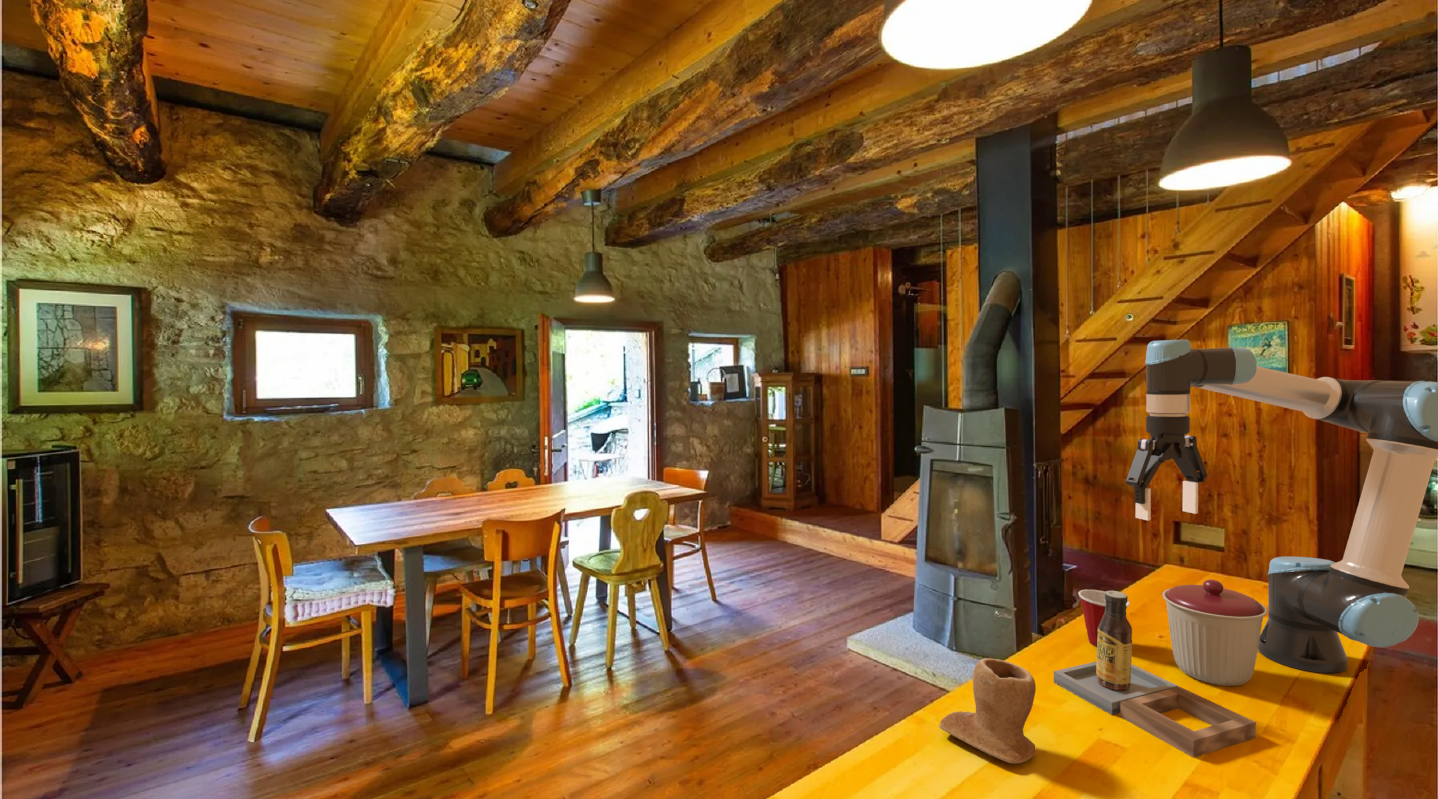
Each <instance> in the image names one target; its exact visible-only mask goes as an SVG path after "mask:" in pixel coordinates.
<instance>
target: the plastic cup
mask: <svg viewBox="0 0 1438 799" xmlns="http://www.w3.org/2000/svg"><path fill="white" fill-rule="evenodd" d="M1105 592H1106V591H1104V590H1097V589H1082V590H1079V591H1078V596H1079V598H1080V601H1081V608H1082V612H1083V618H1084V624H1085V629H1086V633H1087V638H1088V642H1089V644H1090V645H1092V646H1093V647H1096V648H1097V637H1098V636H1097V635H1098V627H1099V624H1100V622H1101V619H1102V617H1103V615H1104V612H1105V605H1106V604H1105V603H1106V600H1105ZM1129 606H1130V601H1129V600H1128V602H1127V603H1126V609H1127V608H1128V607H1129Z"/></svg>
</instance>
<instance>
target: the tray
mask: <svg viewBox="0 0 1438 799" xmlns="http://www.w3.org/2000/svg"><path fill="white" fill-rule="evenodd" d="M1096 666H1097V660H1096V661H1093V662H1088V663H1084V664H1079V665H1075V666H1071V667H1066V668H1062V669H1058V670H1054V671H1053V683H1055V684H1056V685H1058V684H1059V685H1060V686H1059V685H1058V686H1059V687H1061V688H1063V689H1065V690H1067V691H1068V692H1070V693H1072V694H1074V695H1075V696H1077V697H1079V698H1081V699H1083V700H1084V701H1087V703H1089V704H1091V705H1093V706H1095V707H1096V708H1098V709H1100V710H1102V711H1104V712H1106V713H1107V712H1108V714H1109V715H1111V716H1115V715H1118V714H1120V702H1121V701H1125V700H1129V699H1133V698H1137V697H1141V696H1144V695H1148V694H1152V693H1156V692H1160V691H1164V690H1167V689H1171V688H1175V687H1179V685H1178V684H1175V683H1173V682H1171V681H1169V680H1167V679H1164V678H1162V677H1160V676H1158V675H1156V674H1154V673H1152V672H1149V671H1147V670H1145V669H1143V668H1140V667H1139V666H1137V665H1134V664H1133V663H1131V681H1130V687H1129V688H1128V689H1126V690H1112V689H1109V688H1107V687H1105V686H1103V685H1101V684H1100V683H1099V682H1098V680H1097V673H1096Z"/></svg>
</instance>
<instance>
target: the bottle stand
mask: <svg viewBox="0 0 1438 799" xmlns="http://www.w3.org/2000/svg"><path fill="white" fill-rule="evenodd" d="M1175 710H1181V711H1182V712H1184V713H1186V714H1188V715H1190V716H1192V717H1194V718H1196V719H1199V720H1200V721H1203V722H1205V723H1207V724H1209V725H1211V726H1207V727H1204V728H1200V729H1197V730H1193V729H1190V728H1189V727H1187V726H1185V725H1183V724H1181V723H1179V722H1178V721H1175V720H1174V719H1172V718H1170V717H1168V716H1166V715H1164V713H1166V712H1170V711H1175ZM1119 715H1120V716H1119V717H1120V718H1122V719H1124V720H1125V721H1128V722H1129V723H1131V724H1133V725H1134V726H1136V727H1138V728H1140V729H1142V730H1143V731H1145V732H1147V733H1149V734H1151V735H1152V736H1154V737H1156V738H1158V739H1159V740H1161V741H1163V742H1164V743H1167V744H1168V745H1170V746H1172V747H1174V748H1176V749H1177V750H1179V751H1180V752H1183V753H1184V754H1187V755H1188V756H1189V757H1192V758H1197V757H1199V756H1202V755H1206V754H1208V753H1212V752H1215V751H1219V750H1221V749H1226V748H1228V747H1231V746H1234V745H1235V746H1236V745H1238V744H1240V743H1241V744H1242V743H1245V742H1248V741H1250V740H1255V739H1256V737H1257V734H1256V733H1257V722H1256V721H1255V720H1253V719H1250V718H1248V717H1247V716H1244V715H1242V714H1239V713H1238V712H1235V711H1233V710H1231V709H1230V708H1228V707H1224V706H1222V705H1221V704H1218V703H1215V702H1214V701H1211V700H1209V699H1207V698H1205V697H1203V696H1201V695H1198V694H1197V693H1194V692H1193V691H1189V690H1187V689H1185V687H1184V688H1183V687H1181V686H1178V687H1175V688H1171V689H1167V690H1164V691H1160V692H1156V693H1152V694H1148V695H1144V696H1141V697H1137V698H1133V699H1129V700H1125V701H1121V702H1120V713H1119Z"/></svg>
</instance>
